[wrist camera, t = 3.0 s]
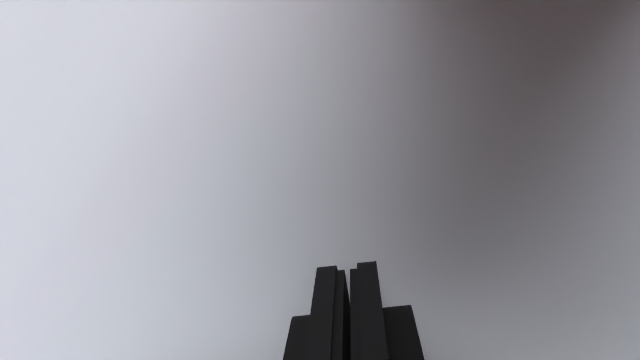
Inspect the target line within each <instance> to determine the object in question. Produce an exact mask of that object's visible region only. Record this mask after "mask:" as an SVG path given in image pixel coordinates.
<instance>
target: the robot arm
mask: <svg viewBox="0 0 640 360" xmlns="http://www.w3.org/2000/svg"><path fill="white" fill-rule="evenodd" d="M283 360H424V356H423V352H422V348H421V344H420V340H419V336H418V332H417V328H416V323H415V319H414V315H413V311H412V308H411V305H406V306H396V307H386V308H382V302H381V294H380V287H379V279H378V272H377V264H376V261H374V262H364V263H357V269H350V301H349V294H348V288H347V282H346V275H345V270H338V269H337V266H328V267H319V268H317V272H316V279H315V285H314V292H313V299H312V306H311V313H310V315H304V316H294V317H292V320H291V324H290V329H289V333H288V338H287V343H286V347H285V352H284V357H283Z"/></svg>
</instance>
